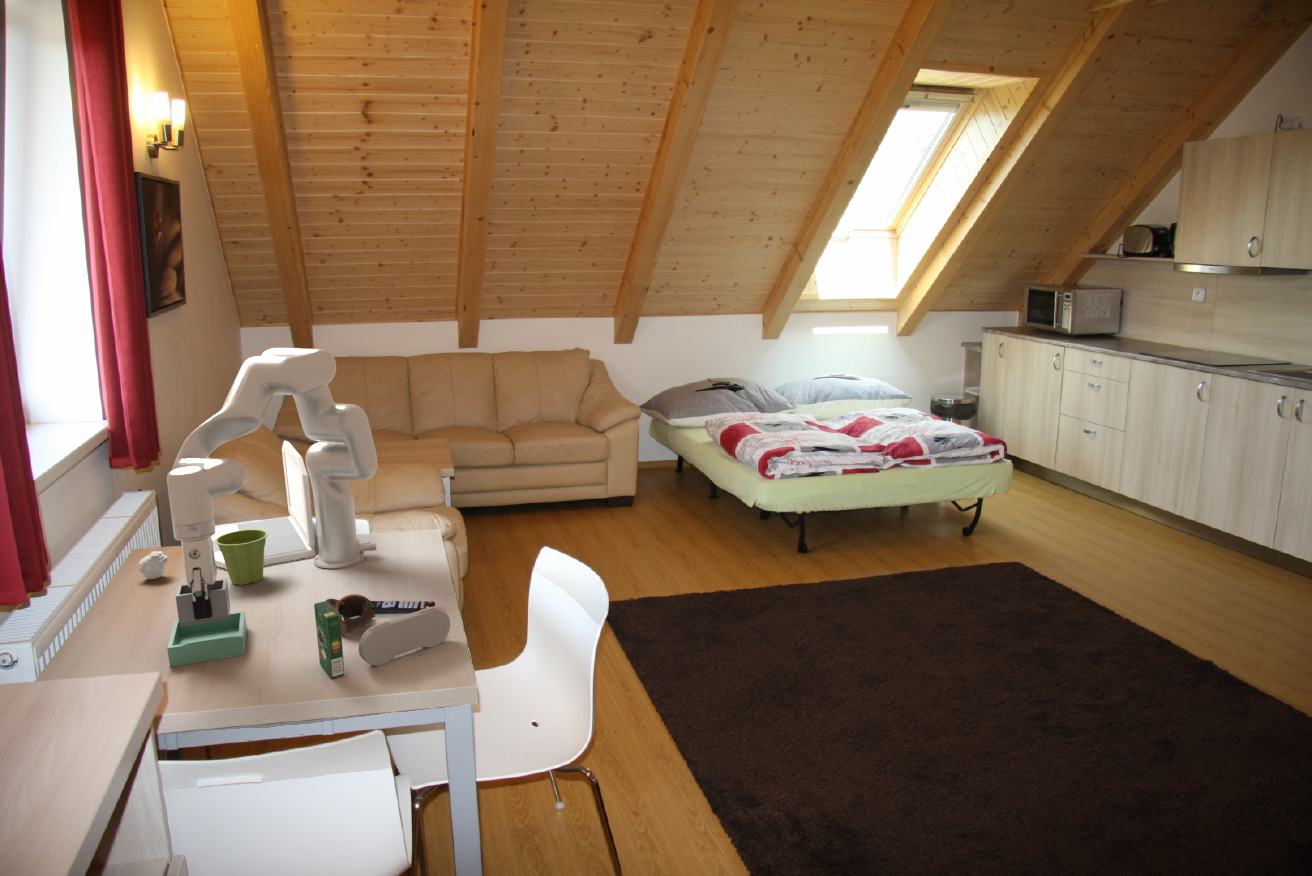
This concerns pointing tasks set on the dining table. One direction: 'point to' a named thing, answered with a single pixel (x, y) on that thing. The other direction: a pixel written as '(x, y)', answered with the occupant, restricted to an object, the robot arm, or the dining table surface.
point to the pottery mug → (353, 612)
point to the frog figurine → (153, 565)
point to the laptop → (283, 518)
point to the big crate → (207, 640)
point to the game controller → (404, 635)
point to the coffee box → (329, 639)
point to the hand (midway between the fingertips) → (204, 610)
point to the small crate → (217, 598)
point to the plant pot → (243, 554)
